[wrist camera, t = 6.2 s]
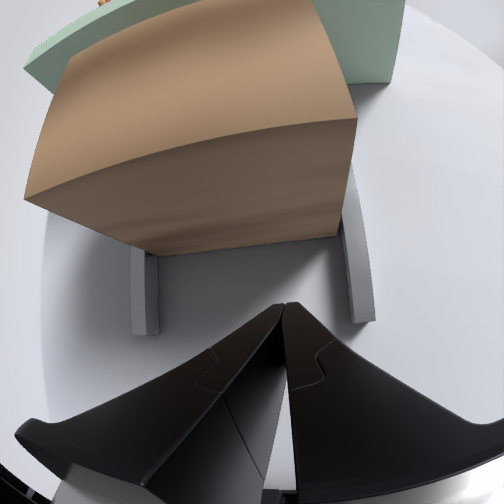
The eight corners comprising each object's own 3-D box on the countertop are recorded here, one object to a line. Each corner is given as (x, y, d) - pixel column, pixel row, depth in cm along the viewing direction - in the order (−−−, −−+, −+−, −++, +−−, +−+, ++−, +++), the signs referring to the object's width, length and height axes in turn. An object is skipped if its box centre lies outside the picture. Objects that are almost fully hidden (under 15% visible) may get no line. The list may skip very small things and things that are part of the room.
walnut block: (336, 235, 15) (357, 117, 6) (160, 256, 17) (23, 199, 8) (316, 125, 17) (301, -18, 7) (164, 153, 19) (70, 57, 9)
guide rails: (370, 320, 14) (375, 320, 13) (145, 333, 17) (131, 334, 15) (326, 85, 17) (325, 70, 16) (153, 120, 20) (143, 109, 18)
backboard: (390, 82, 17) (409, -38, 7) (104, 137, 21) (23, 68, 11) (381, 64, 17) (392, -50, 7) (108, 118, 21) (34, 49, 12)
